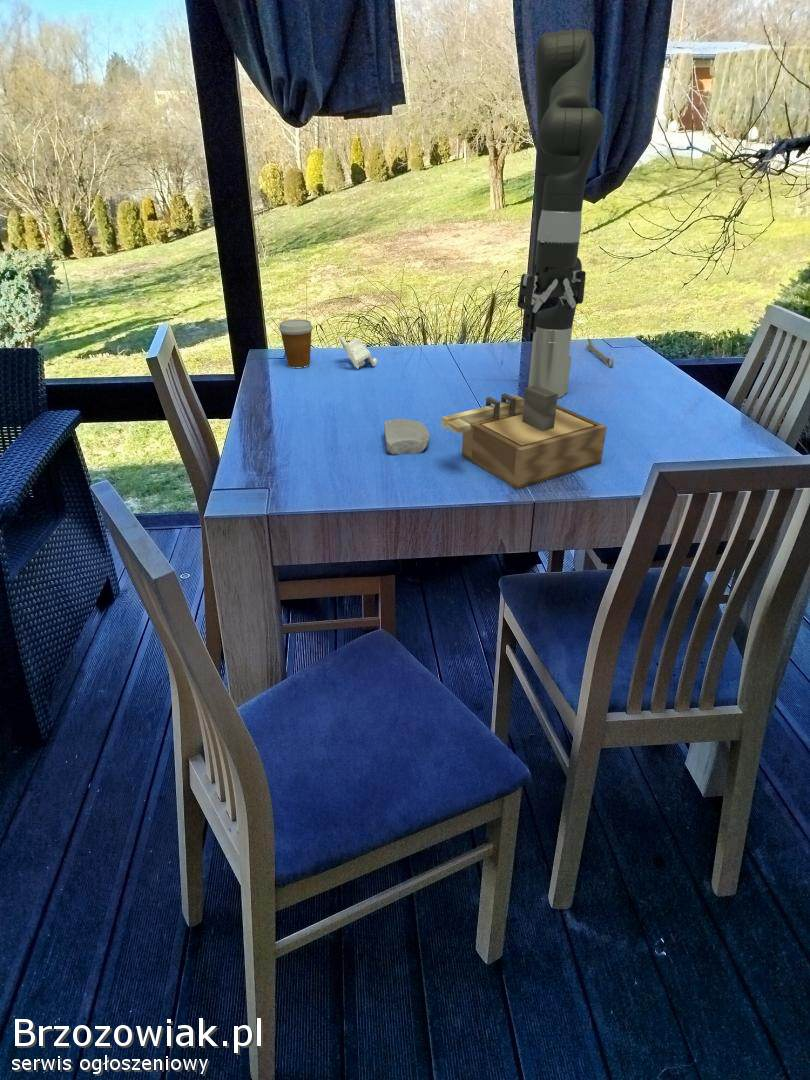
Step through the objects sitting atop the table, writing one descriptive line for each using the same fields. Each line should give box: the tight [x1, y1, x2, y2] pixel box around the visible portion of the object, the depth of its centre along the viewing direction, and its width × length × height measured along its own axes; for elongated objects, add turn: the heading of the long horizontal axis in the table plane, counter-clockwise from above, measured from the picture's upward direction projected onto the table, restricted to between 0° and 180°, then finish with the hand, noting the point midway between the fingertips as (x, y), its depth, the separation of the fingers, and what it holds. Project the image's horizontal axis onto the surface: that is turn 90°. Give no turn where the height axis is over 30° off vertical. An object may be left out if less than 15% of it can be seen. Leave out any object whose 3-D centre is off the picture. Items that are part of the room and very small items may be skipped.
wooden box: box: [461, 393, 608, 490], centre depth 138 cm, size 22×18×12 cm
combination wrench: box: [585, 338, 615, 368], centre depth 201 cm, size 4×1×20 cm
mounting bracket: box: [338, 334, 379, 369], centre depth 195 cm, size 12×6×11 cm, turn 16°
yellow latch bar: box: [441, 394, 525, 435], centre depth 137 cm, size 19×6×3 cm, turn 122°
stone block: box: [383, 418, 431, 456], centre depth 148 cm, size 12×5×10 cm
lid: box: [482, 385, 594, 447], centre depth 134 cm, size 19×12×8 cm, turn 122°
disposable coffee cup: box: [278, 318, 314, 368], centre depth 193 cm, size 10×10×12 cm
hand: (547, 329), depth 131 cm, fingers open, 8 cm apart
